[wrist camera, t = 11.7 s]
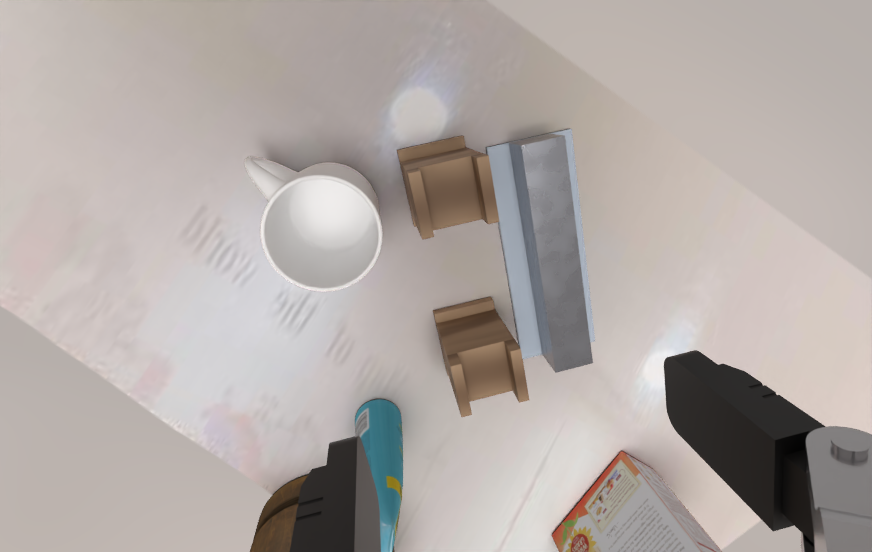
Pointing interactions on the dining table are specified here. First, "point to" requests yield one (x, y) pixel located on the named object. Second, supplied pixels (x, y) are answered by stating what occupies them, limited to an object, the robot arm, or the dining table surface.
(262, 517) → the wooden container
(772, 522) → the robot arm
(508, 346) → the post
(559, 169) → the rail
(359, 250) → the mug
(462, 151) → the post
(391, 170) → the dining table surface
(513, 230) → the mat
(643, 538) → the cracker box
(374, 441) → the tube
